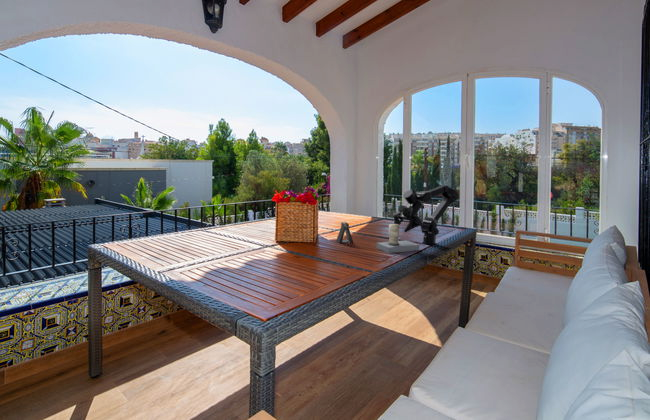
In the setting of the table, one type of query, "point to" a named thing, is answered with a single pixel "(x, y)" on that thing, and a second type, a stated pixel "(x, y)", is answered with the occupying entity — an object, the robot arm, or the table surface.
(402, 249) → the grey slab with hole
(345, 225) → the grey a-shaped frame
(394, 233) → the ash peg
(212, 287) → the table surface
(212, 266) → the table surface
